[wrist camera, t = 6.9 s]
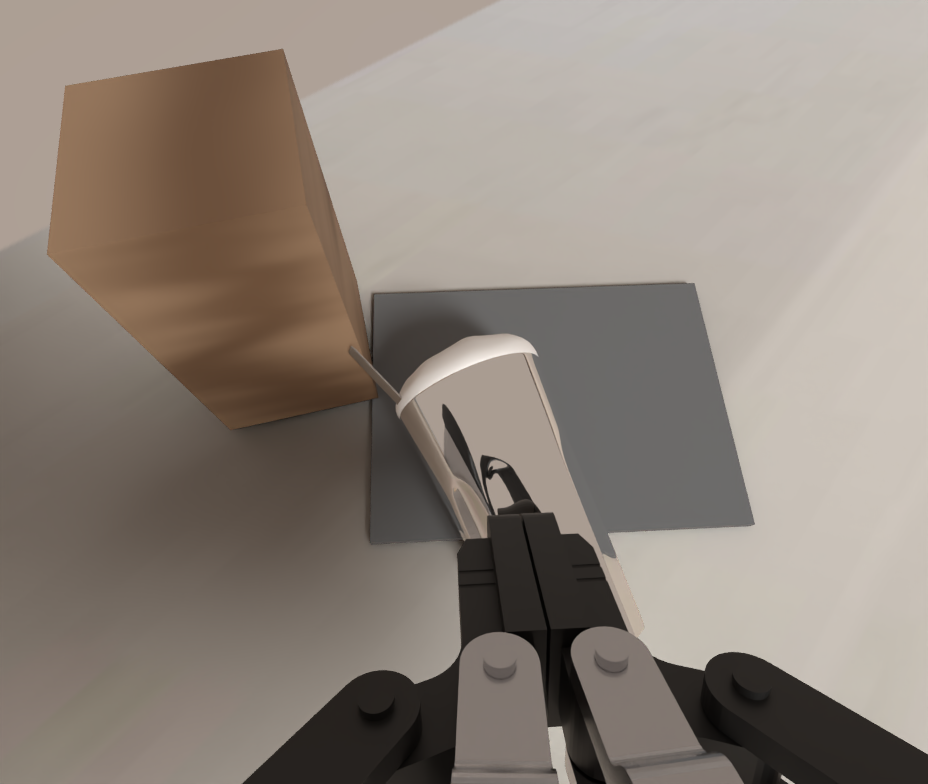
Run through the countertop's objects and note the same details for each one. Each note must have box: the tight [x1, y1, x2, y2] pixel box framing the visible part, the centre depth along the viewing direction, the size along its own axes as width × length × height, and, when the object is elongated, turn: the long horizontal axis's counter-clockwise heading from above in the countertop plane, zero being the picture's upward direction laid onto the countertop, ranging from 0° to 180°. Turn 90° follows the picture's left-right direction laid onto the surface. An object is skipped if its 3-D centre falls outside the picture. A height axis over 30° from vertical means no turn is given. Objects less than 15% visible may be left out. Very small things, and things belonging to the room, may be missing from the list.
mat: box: [370, 283, 755, 544], centre depth 20 cm, size 12×9×1 cm
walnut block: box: [47, 49, 379, 430], centre depth 16 cm, size 5×5×9 cm
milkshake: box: [348, 333, 645, 638], centre depth 16 cm, size 4×5×10 cm
